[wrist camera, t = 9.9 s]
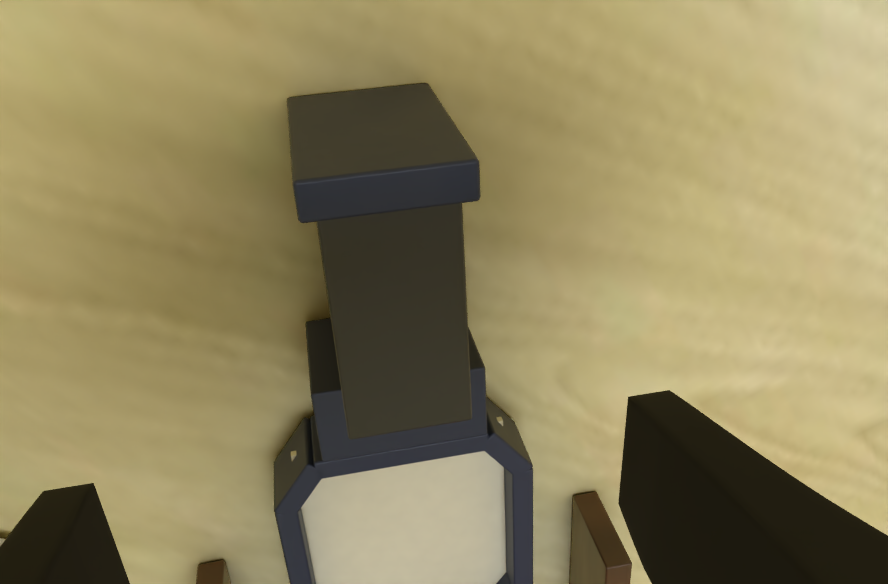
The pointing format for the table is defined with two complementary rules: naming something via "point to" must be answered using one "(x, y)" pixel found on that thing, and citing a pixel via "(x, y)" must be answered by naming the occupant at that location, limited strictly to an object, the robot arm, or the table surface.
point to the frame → (592, 549)
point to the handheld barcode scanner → (396, 361)
